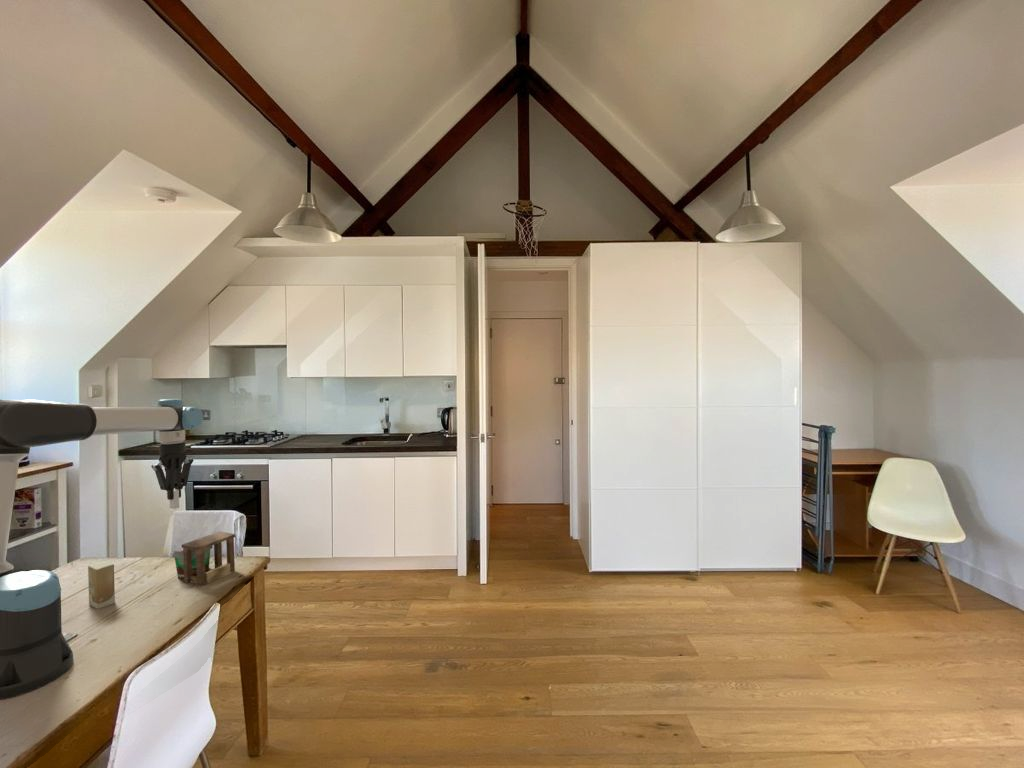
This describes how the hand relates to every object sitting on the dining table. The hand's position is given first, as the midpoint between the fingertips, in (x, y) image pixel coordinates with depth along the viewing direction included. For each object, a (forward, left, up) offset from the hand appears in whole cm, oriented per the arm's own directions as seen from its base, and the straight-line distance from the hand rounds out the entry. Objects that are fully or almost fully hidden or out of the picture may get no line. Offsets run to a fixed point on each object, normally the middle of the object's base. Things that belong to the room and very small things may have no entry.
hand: (174, 507), depth 159 cm
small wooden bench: (0, -17, -22) cm, 28 cm away
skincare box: (-24, -4, -22) cm, 33 cm away
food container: (0, -12, -22) cm, 25 cm away
